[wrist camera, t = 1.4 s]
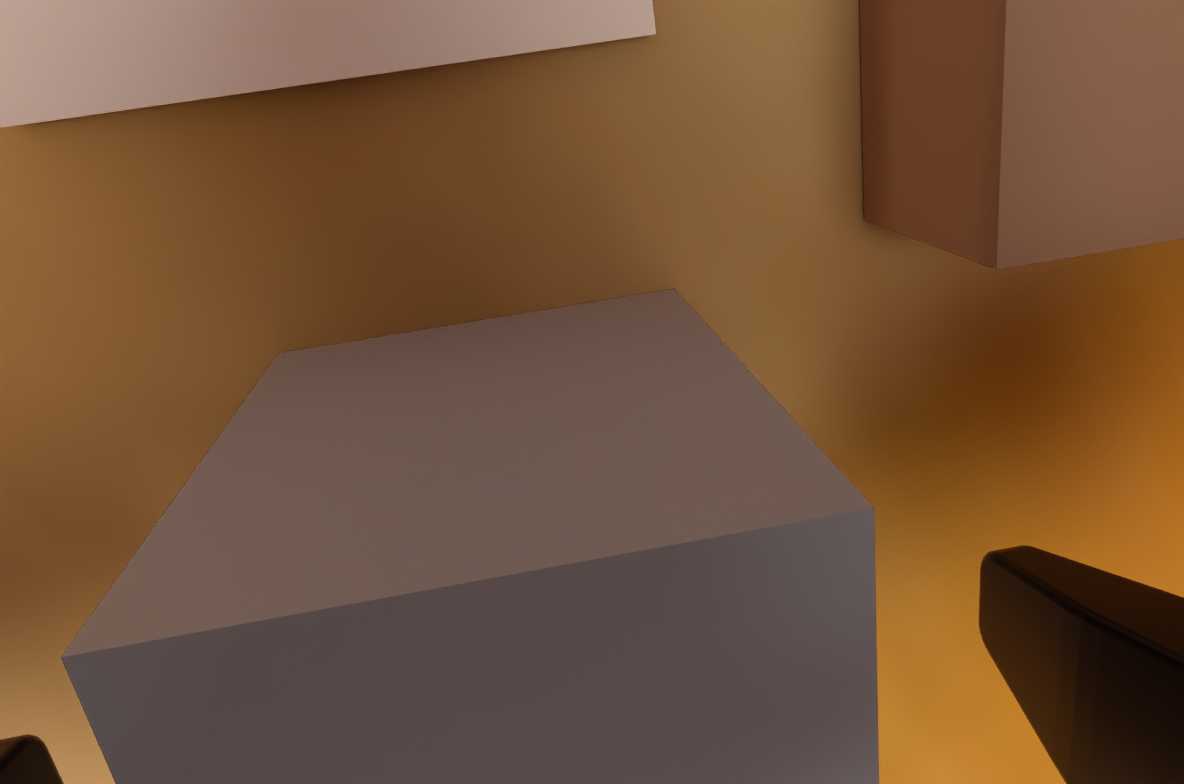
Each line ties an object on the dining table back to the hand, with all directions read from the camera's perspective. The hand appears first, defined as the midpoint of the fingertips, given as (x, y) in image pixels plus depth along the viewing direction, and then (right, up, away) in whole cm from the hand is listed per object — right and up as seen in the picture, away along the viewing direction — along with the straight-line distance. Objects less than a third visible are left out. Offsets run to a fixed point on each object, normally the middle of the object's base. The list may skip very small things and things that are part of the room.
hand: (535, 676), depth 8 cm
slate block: (-1, +1, +4) cm, 4 cm away
